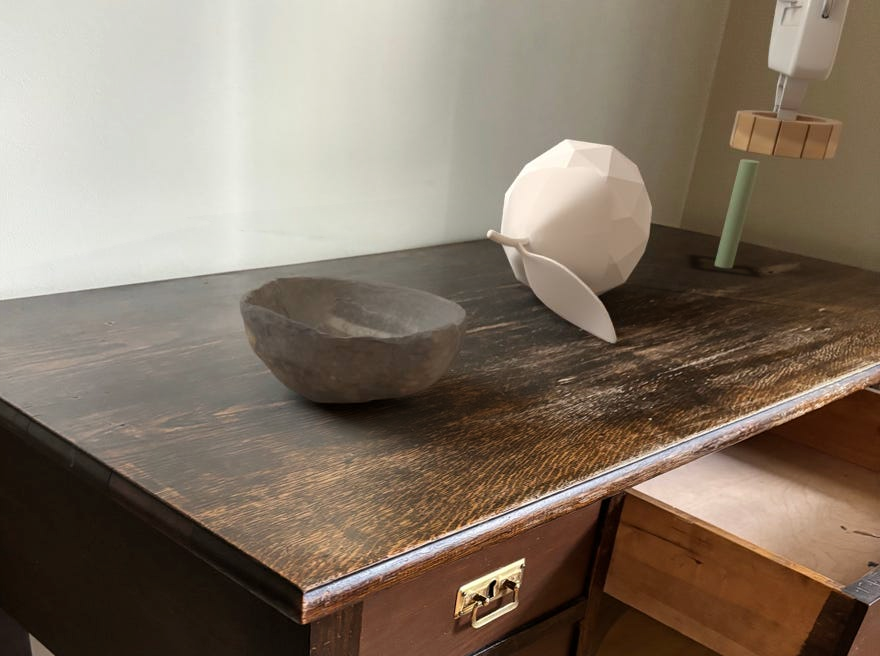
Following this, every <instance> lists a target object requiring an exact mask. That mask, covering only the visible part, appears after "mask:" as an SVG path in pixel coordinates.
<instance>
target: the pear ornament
mask: <svg viewBox="0 0 880 656" xmlns="http://www.w3.org/2000/svg"><path fill="white" fill-rule="evenodd" d="M651 203H652V202H651V199H650V197H649V194H648V190H647V188H646V184H645V182H644V180H643V177H642V175H641V172H640V170H639V167H638V165H637V164H636V163H634V162H633V161H632V160H631V159H629V158H628V156H626V155H624V154H623V153H622V152H621V151H619V150H618V149H617V148H616V147H614V145H608V144H603V143H595V142H590V141H589V142H588V141H583V140H582V141H581V140H575V139H568V138H565V139H564V140H562V141H561V142H559V143H558V144H556V145H554V146H553V147H552V148H550V149H548V150H547V151H545V152H544V153H542V154H541V155H539V156H537V157H536V158H534V159H533V160H531V161H530V162H528V163H526V164H525V165H524V167H523V168H522V169H521V171H520V172H519V174H518V175H517V176H516V178H515V179H514V181H513V182H512V184H511V185H510V186H509V188H508V189H507V191H506V192H505V193H504V201H503V209H502V217H501V226H500V232H498V231H497V230H496V231H495V230H494V229H489V230H488V231H487V233H486V237H487V239H489V240H491V241H493V242H495V243H497V244H499V245H501V246H502V248H503V251H504V253H505V255H506V258H507V261H508V263H509V265H510V267H511V269H512V271H513V272H512V273H514V276H515V279H516V280H517V281H519V282H521V283H522V284H524V285H526V286H527V287H529V288H530V289H531V290H532V291H533V293H534V295H535V296H536V297H537V298H538V299H539V300H540V301H541V302H542V303H543V304H544V305H545V306H546V307H547V308H548V309H550V310H551V311H552V312H554V313H555V314H557V315H558V316H560V317H561V318H563V319H564V320H566V321H567V322H569V323H571V324H572V325H575V326H576V327H578V328H580V329H581V330H584V331H585V332H587V333H590V334H591V335H594V336H595V337H597V338H599V339H601V340H603V341H604V342H607V343H609V342H610V344H616V342H617V334H616V330H615V328H614V325H613V322H612V319H611V317H610V314H609V312H608V311H607V308H606V307H605V305H604V304H603V302H602V300H601V299H600V298H599V296H601V295H603V294H605V293H607V292H608V291H609V292H610V291H611V290H613V289H614V288H617V287H619V286H621V285H622V284H625V283H626V282H627V280H628V279H629V277H630V275H631V274H632V272H633V271H634V269H635V268H636V266H637V265H638V263H639V262H640V261H641V258H642V257H643V255H644V253H645V252H646V248H647V245H648V241H649V238H650V231H651V230H650V229H651V221H652V212H653V206H652V204H651Z"/></svg>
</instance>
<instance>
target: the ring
mask: <svg viewBox="0 0 880 656" xmlns="http://www.w3.org/2000/svg"><path fill="white" fill-rule="evenodd" d="M776 114H777V112H774V110H772V111H770V110H758V109H757V110H754V109H746V110H745V109H744V110H743V109H742V110H737V111H736V114H735V119H734V123H733V127H732V131H731V136H730V139H729V146H730V148H733V149H735V150H739V151H743V152H748V153H753V154H758V155H765V156H770V157H772V156H773V157H778V158H787V159H788V158H789V159H801V160H820V161H821V160H829V159H830V160H831V159H834V158H835V154H836V151H837V148H838V145H839V142H840V139H841V134H842V131H843V128H844V122H842V121H840V120H837V119H833V118H829V117H828V118H827V117H822V116H817V115H808V114H802V113H797V117H796V121H794V120H784V119H777V118H776Z"/></svg>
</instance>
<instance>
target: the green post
mask: <svg viewBox="0 0 880 656" xmlns="http://www.w3.org/2000/svg"><path fill="white" fill-rule="evenodd" d="M760 162H761V161H758V160H753V159H745V158H743V159H740V161H739V164H738V169H737V173H736V177H735V181H734V185H733V188H732V193H731V197H730V201H729V204H728V208H727V213H726V217H725V221H724V225H723V229H722V232H721V237H720V241H719V245H718V249H717V253H716V257H715V261H714V266H715V267H717V268H722V269H733V268H734V263H735V259H736V256H737V252H738V248H739V244H740V240H741V236H742V232H743V229H744V224H745V221H746V217H747V213H748V209H749V206H750V203H751V201H750V200H751V198H752V193H753V190H754V187H755V182H756V179H757V174H758V171H759V166H760Z"/></svg>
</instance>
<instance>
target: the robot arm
mask: <svg viewBox="0 0 880 656" xmlns="http://www.w3.org/2000/svg"><path fill="white" fill-rule="evenodd" d="M850 1H851V0H776V5H775V10H774V17H773V23H772V29H771V35H770V41H769V47H768V58H767V67H768V69H769V70H772V71H773V72H776V73H778V74H779V76H778V80H777V85H776V91H775V100H774V107H773V111H774V112H777V114H776V118H777V119H784V120H794V121H796V117H797V114H799V110H800V107H801V105H802V102H803V101H804V98H805V96H806V93H807V91H808V88H809V85H810V84H809V83H810V81H826V80H827V79H828V78H829V76H830V75H831V72H832V70H833V67H834V65H835V64H834V63H835V61H836V56H837V53H838V48H839V46H840V45H839V44H840V40H841V37H842V32H843V28H844V24H845V20H846V16H847V12H848V8H849V4H850Z"/></svg>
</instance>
